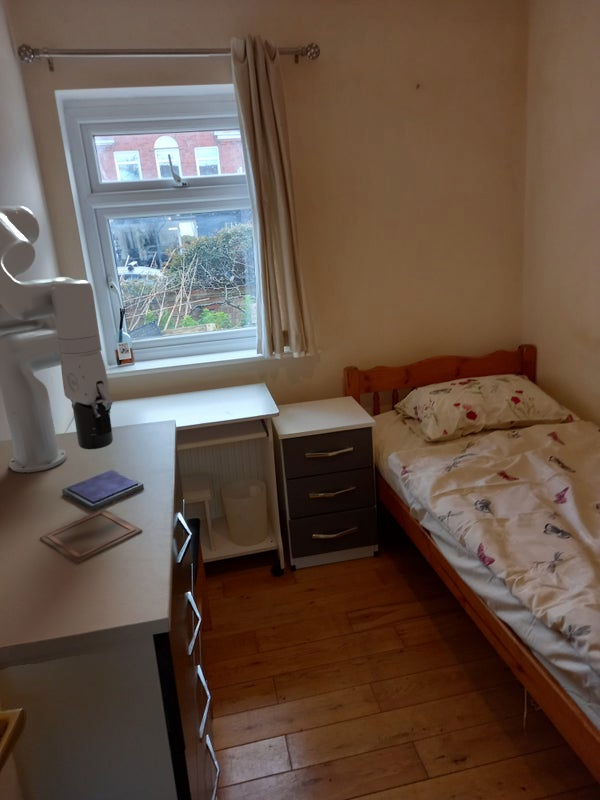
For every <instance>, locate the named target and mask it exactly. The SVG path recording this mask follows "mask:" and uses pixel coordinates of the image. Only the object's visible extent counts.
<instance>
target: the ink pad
mask: <svg viewBox="0 0 600 800" xmlns="http://www.w3.org/2000/svg"><path fill="white" fill-rule="evenodd" d="M144 486H145V485H144V483H142V482H140V481H137V480H136V479H133V478H132V477H129V476H127V475H125V474H122V473H121V472H118V471H116V470H114V469H110V470H108V471H105V472H102V473H100V474H97V475H96V476H92V477H90V478H87V479H85V480H82V481H79V482H77V483H75V484H72V485H70V486H68V487H64V488H62V489H61V491H62V492H61V493H62V495H63V496H65V497H67V498H68V499H70V500H72V501H74V502H76V503H77V504H79V505H81V506H83V507H85V508H86V509H88V510H89V511H91V512H94V511H95V512H96V511H97V510H99V509H100V510H101V509H102V508H104V507H107V506H109V505H111V504H113V503H115V502H117V501H120V500H122V499H124V498H127V497H129V496H131V495H133V494H136V493H138V492H140V491H142V490H145V487H144Z"/></svg>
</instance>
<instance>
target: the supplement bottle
mask: <svg viewBox="0 0 600 800" xmlns="http://www.w3.org/2000/svg"><path fill="white" fill-rule="evenodd" d="M97 400H101V399H100V397H99V398H96V400H95V401H97ZM101 405H102V403H100V404H97V407H98V410H99V408H100V406H101ZM72 411H73V417H74V424H75V432H76V437H77V442H78V443H77V444H78V446H79V447H80V448H81V449H84V450H96V449H97V450H98V449H102V448H106V447H108V446H109V445H111V444H112V443H113V441H114V437H113V428H112V426H111V429H112V431H111V432H110V433H107V434H104V435H101V436H97V435H96V431H95V425H94V418H93V417H96V416H95V414H94V411H93V409H92V406H91V405H84V404H81V403H78V402H76V403H75V404H74V407H73V408H72ZM109 416H110V417H111V413H110V414H109ZM110 422H111V423H112V420H111V419H110Z"/></svg>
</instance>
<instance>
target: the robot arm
mask: <svg viewBox="0 0 600 800" xmlns="http://www.w3.org/2000/svg"><path fill="white" fill-rule="evenodd" d="M39 237H40V224H39V222H38V220H37V217H36V216H35V214H34V213H33V212H32V211H31V210H30V209H29V208H28V207H25V206H24V205H19V204H17V205H16V204H6V205H5V204H4V205H2V204H1V205H0V392H1V395H2V401H3V405H4V409H5V414H6V419H7V423H8V424H7V425H8V428H9V429H8V430H9V434H10V439H11V443H12V448H13V453H14V457H12V458H11V459H10V460H9V462H8V465H9V468H11V469H12V470H11V469H10V470H11V471H13V472H16V473H25V472H26V473H35V472H42V471H46V470H49V469H52V468H54V467H57V466H58V465H60V464H62V463H63V462H65V460H66V459H67V453H66V451H65V450H64V449H63V448H59V447H58V446H59V445H58V440H57V436H56V434H57V433H56V430H55V429H56V428H55V424H54V419H53V412H52V407H51V402H50V396H49V392H48V389H47V387H46V385H45V383H43V382H42V381H41V380H40V379H38V378H37V377H36V376H35V374H34V373H36V372H38V371H43V370H46V369H51V368H55V367H58V366H60V367H61V369H60V370H61V376H62V377H61V379H62V387H63V393H64V396H65V397H66V398H67V399H68V400H70V401H71V408H72V409H73V407H74V404H75V403H76V402H78V403H81V404H84V405H91V406H92V409H93V411H94V414H95V416H96V417H93V418H94V425H95V431H96V435H97V436H101V435H104V434H107V433H110V432H111V431H112V432H113V428H112V429H111V427H112V421H111V422H110V420H111V409H112V405H113V403H114V398H113V397H112V396H111V394H110V388H109V382H108V375H107V370H106V365H105V363H104V358H103V355H102V352H101V351H102V350H103V349H102V342H101V337H100V330H99V325H98V317H97V309H96V304H95V297H94V290H93V287H92V284H91V283H90V282H89V281H88V280H86V279H73V278H71V277H67V276H57V277H56V276H55V277H49V278H48V277H47V278H39V279H38V278H37V279H28V280H20V281H19V280H16V278H17V277H19V276H21V275H22V274H23V273H25V272H26V271H28V270H29V269H30V268H31V266H32V265H33V264H34V261H35V260H36V259H35V258H36V250H35V247H34V245H33V244H34V243H35V242H37V240H38V238H39ZM99 397H100V399H101V400H97V401H95V400H96V398H99ZM100 403H102V405H101V406H100V408H99V410H98V407H97V404H100ZM109 414H110V416H109Z"/></svg>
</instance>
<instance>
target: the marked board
mask: <svg viewBox="0 0 600 800" xmlns="http://www.w3.org/2000/svg"><path fill="white" fill-rule="evenodd" d="M142 532H143V529H142V528H140V527H138V526H136V525H134V524H133V523H131V522H128V521H127V520H126V519H123V518H121V517H119V516H117V514H114V513H113V512H110V511H108V510H106V509H105V508H103V509H102V508H101V509H100V510H98V511H95V512H94V513H91V514H89V515H87V516H84V517H82V518H80V519H78V520H75V521H73V522H71V523H68V524H66V525H64V526H62V527H60V528H57V529H55V530H53V531H50V532H48V533H45V534H44V535H42V536H39V538H40V540H41V541H42V542H44V543H45V544H46V545H48V546H50V547H51V548H52V549H54V550H55V551H57V552H59V553H60V554H61V555H63V557H65V558H67V560H70V561H71V562H73V563H74V564H75V565H80V564H82V563H83V562H85V561H87V560H89V559H91V558H93V557H95V556H97V555H99V554H101V553H103V552H105V551H107V550H110V549H111V548H113V547H115V546H117V545H118V544H121V543H123V542H125V541H127V540H129V539H131V538H133V537H135V536H136V535H138V534H141V533H142Z"/></svg>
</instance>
